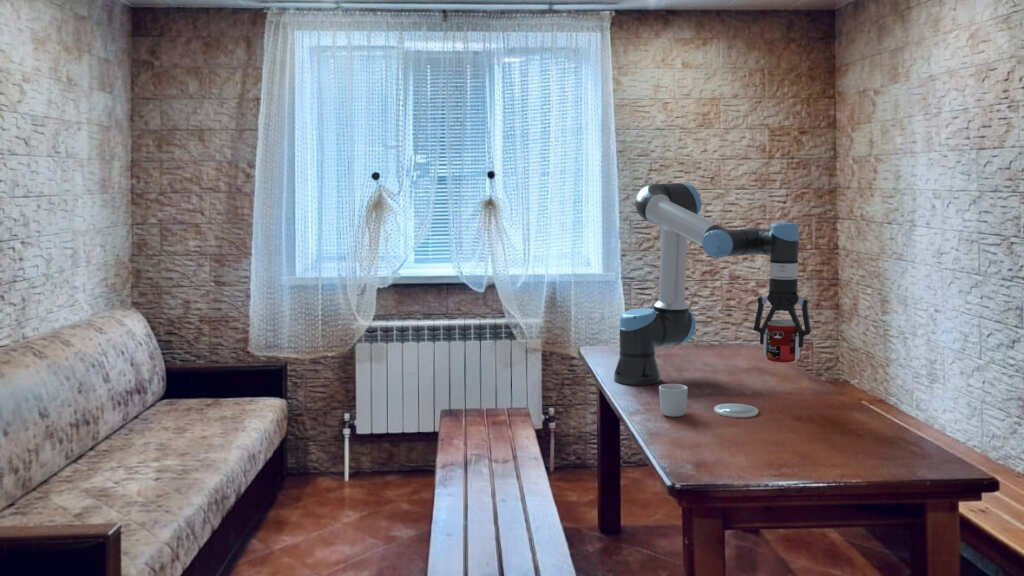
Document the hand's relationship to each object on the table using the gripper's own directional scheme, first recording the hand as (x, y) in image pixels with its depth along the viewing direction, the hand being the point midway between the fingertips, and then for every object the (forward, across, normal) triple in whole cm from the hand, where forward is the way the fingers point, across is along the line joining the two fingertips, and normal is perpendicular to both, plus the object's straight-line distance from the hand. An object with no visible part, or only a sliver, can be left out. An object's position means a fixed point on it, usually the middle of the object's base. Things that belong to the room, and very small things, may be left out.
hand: (781, 357), depth 233 cm
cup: (+15, -26, -18) cm, 35 cm away
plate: (+15, -10, -9) cm, 20 cm away
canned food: (+1, 0, 0) cm, 1 cm away
